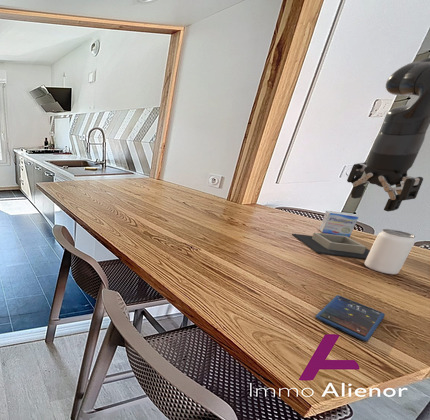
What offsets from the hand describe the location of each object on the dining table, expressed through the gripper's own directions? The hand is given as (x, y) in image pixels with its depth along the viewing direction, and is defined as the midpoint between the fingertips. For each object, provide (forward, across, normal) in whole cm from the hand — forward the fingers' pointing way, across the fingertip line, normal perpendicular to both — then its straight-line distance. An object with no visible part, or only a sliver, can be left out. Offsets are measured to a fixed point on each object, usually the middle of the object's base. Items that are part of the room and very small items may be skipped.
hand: (371, 203), depth 70 cm
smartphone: (+10, -27, +28) cm, 40 cm away
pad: (+22, +8, -4) cm, 24 cm away
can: (+20, -6, -3) cm, 21 cm away
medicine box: (+27, +20, -15) cm, 37 cm away
